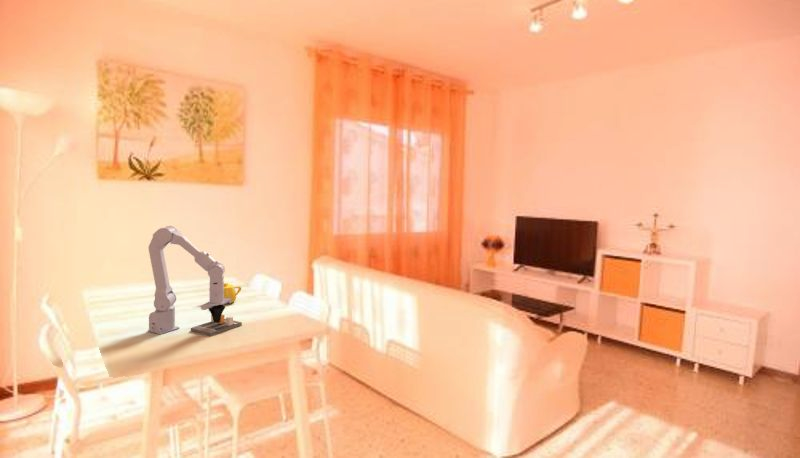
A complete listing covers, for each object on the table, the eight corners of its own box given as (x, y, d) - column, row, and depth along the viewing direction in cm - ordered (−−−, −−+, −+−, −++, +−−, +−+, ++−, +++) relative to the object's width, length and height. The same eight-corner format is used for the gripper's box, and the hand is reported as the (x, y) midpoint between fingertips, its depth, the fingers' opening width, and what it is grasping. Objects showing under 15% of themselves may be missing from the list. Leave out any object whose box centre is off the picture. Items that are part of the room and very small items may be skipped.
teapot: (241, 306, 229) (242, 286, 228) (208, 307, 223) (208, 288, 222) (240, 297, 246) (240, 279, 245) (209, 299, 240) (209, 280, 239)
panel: (211, 336, 183) (211, 324, 182) (190, 331, 188) (190, 319, 187) (241, 325, 198) (241, 314, 198) (222, 321, 203) (222, 310, 203)
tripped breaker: (220, 323, 193) (220, 316, 193) (217, 323, 194) (217, 315, 194) (224, 322, 195) (224, 314, 195) (221, 321, 196) (221, 314, 196)
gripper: (209, 296, 183) (209, 328, 184) (236, 289, 196) (236, 319, 197) (197, 294, 186) (197, 325, 187) (224, 287, 199) (224, 317, 200)
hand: (216, 322), depth 192 cm, fingers closed
